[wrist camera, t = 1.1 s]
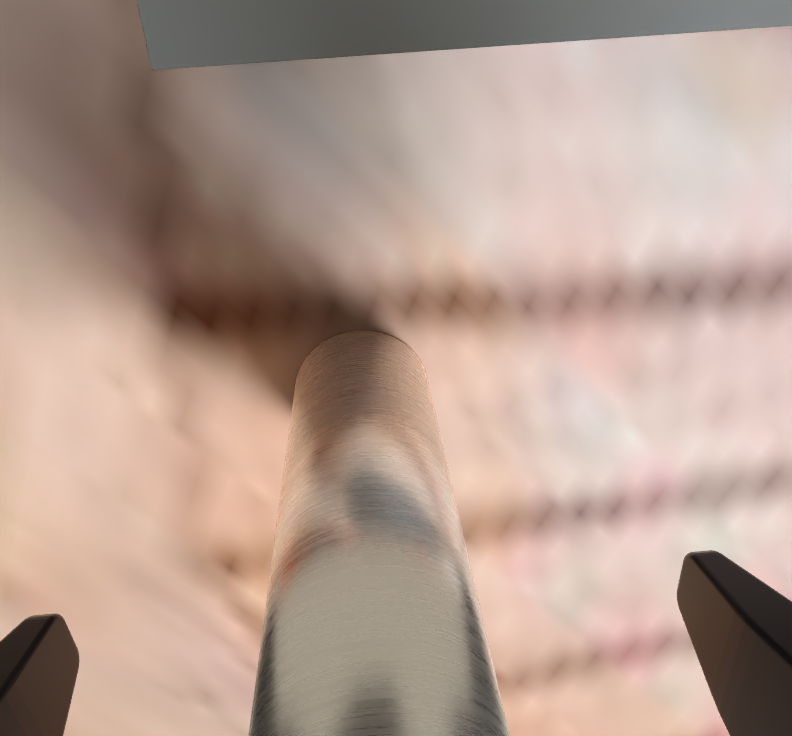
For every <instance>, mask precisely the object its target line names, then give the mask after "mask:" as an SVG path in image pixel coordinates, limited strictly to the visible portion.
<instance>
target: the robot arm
mask: <svg viewBox="0 0 792 736" xmlns="http://www.w3.org/2000/svg"><path fill="white" fill-rule="evenodd" d="M677 601H678V606H679V609H680V612H681V614H682V617H683V620H684V622H685V625H686V628H687V630H688V633H689V636H690V638H691V641H692V644H693V646H694V649H695V651H696V654H697V657H698V659H699V662H700V665H701V667H702V670H703V673H704V675H705V678H706V681H707V683H708V686H709V688H710V691H711V694H712V696H713V699H714V701H715V704H716V706H717V709H718V711H719V713H720V715H721V717H722V720H723V722H724V724H725V726H726V728H727V730H728V732H729V734H730V736H792V601H790V600H789V599H787V598H786V597H784V596H783V595H781V594H780V593H778V592H777V591H775V590H774V589H773V588H771V587H770V586H768V585H767V584H765V583H764V582H762V581H761V580H759V579H758V578H756V577H755V576H753V575H752V574H750V573H749V572H747V571H746V570H744V569H743V568H742V567H740V566H739V565H737V564H736V563H734V562H733V561H731V560H730V559H728V558H727V557H725V556H724V555H722V554H721V553H719V552H716V551H712V550H710V551H699V552H690V553H688V554H687V555H686V556H685V558H684V561H683V566H682V570H681V575H680V580H679V584H678V589H677ZM78 668H79V653H78V649H77V647H76V644H75V642H74V640H73V638H72V636H71V633H70V631H69V629H68V627H67V624H66V622H65V620H64V618H63V617H62V616H61V615H59V614H44V615H35V616H31V617H28V618H27V619H25V620H24V621H22V622H21V623H20V624H19V625H18V626H17V627H16V628H15V629H14V630H12V631H11V632H10V633H9V634H8V635H7V636H6V637H5V638H4V639H2V640H1V641H0V736H63V734H64V730H65V725H66V721H67V717H68V712H69V708H70V704H71V699H72V695H73V690H74V686H75V682H76V677H77V673H78Z"/></svg>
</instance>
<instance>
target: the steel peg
mask: <svg viewBox="0 0 792 736" xmlns="http://www.w3.org/2000/svg"><path fill="white" fill-rule="evenodd" d="M249 736H510V735H509V731H508V726H507V722H506V718H505V713H504V709H503V704H502V700H501V696H500V691H499V687H498V683H497V678H496V674H495V670H494V665H493V661H492V657H491V652H490V648H489V644H488V639H487V635H486V631H485V626H484V622H483V618H482V613H481V609H480V605H479V600H478V596H477V592H476V587H475V583H474V579H473V574H472V570H471V566H470V561H469V557H468V553H467V548H466V544H465V540H464V535H463V531H462V527H461V522H460V518H459V514H458V509H457V505H456V501H455V496H454V492H453V488H452V483H451V479H450V475H449V470H448V466H447V462H446V457H445V453H444V449H443V444H442V440H441V436H440V431H439V427H438V423H437V418H436V414H435V410H434V405H433V401H432V397H431V392H430V388H429V383H428V379H427V375H426V372H425V369H424V367H423V364H422V362H421V361H420V359H419V358H418V356H417V355H416V354H415V353H414V351H413V350H412V349H410V348H409V347H408V346H407V345H406V344H404V343H403V342H401V341H400V340H398V339H396V338H394V337H392V336H389V335H387V334H384V333H379V332H375V331H351V332H346V333H342V334H338V335H336V336H333V337H331V338H329V339H327V340H325V341H324V342H322V343H321V344H319V345H318V346H317V347H315V348H314V349H313V350H312V351H311V352H310V353H309V354H308V356H307V357H306V358H305V359H304V361H303V363H302V365H301V366H300V369H299V371H298V374H297V378H296V384H295V391H294V399H293V406H292V414H291V421H290V429H289V436H288V444H287V451H286V459H285V466H284V474H283V481H282V489H281V496H280V504H279V511H278V519H277V526H276V534H275V541H274V549H273V556H272V564H271V571H270V579H269V586H268V594H267V601H266V609H265V616H264V624H263V631H262V639H261V646H260V654H259V661H258V669H257V676H256V684H255V692H254V699H253V707H252V714H251V722H250V729H249Z"/></svg>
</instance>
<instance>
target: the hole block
mask: <svg viewBox="0 0 792 736" xmlns="http://www.w3.org/2000/svg"><path fill="white" fill-rule="evenodd" d="M137 5H138V9H139V14H140V18H141V23H142V27H143V32H144V36H145V41H146V46H147V50H148V55H149V59H150V64H151V68H152V70H159V69H174V68H188V67H203V66H217V65H231V64H246V63H260V62H275V61H289V60H304V59H318V58H332V57H347V56H361V55H376V54H390V53H405V52H419V51H433V50H448V49H462V48H477V47H491V46H506V45H520V44H534V43H549V42H563V41H578V40H592V39H607V38H621V37H635V36H650V35H664V34H679V33H693V32H708V31H722V30H736V29H751V28H765V27H780V26H792V0H137Z"/></svg>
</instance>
